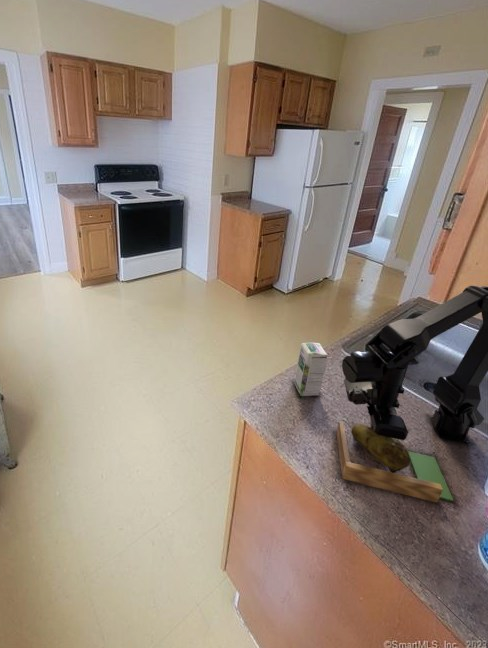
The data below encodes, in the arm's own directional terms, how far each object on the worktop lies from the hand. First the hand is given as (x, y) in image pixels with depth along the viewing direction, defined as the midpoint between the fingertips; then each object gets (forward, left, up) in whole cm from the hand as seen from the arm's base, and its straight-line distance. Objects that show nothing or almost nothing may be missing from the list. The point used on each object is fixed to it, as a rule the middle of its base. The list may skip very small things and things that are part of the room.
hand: (373, 427), depth 79 cm
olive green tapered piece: (0, +6, -3) cm, 7 cm away
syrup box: (+15, -13, -3) cm, 20 cm away
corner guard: (-1, +7, -3) cm, 8 cm away
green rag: (-11, +7, -3) cm, 13 cm away
